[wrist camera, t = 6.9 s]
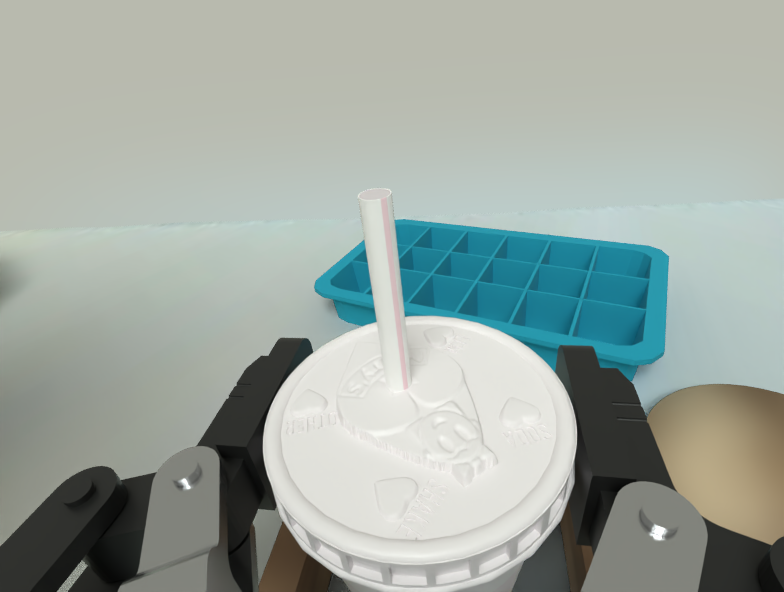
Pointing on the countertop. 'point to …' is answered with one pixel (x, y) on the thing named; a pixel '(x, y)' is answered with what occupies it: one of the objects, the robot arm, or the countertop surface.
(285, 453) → the smoothie
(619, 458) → the robot arm
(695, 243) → the countertop surface
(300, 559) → the square wooden frame
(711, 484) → the trivet
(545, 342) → the ice cube tray
